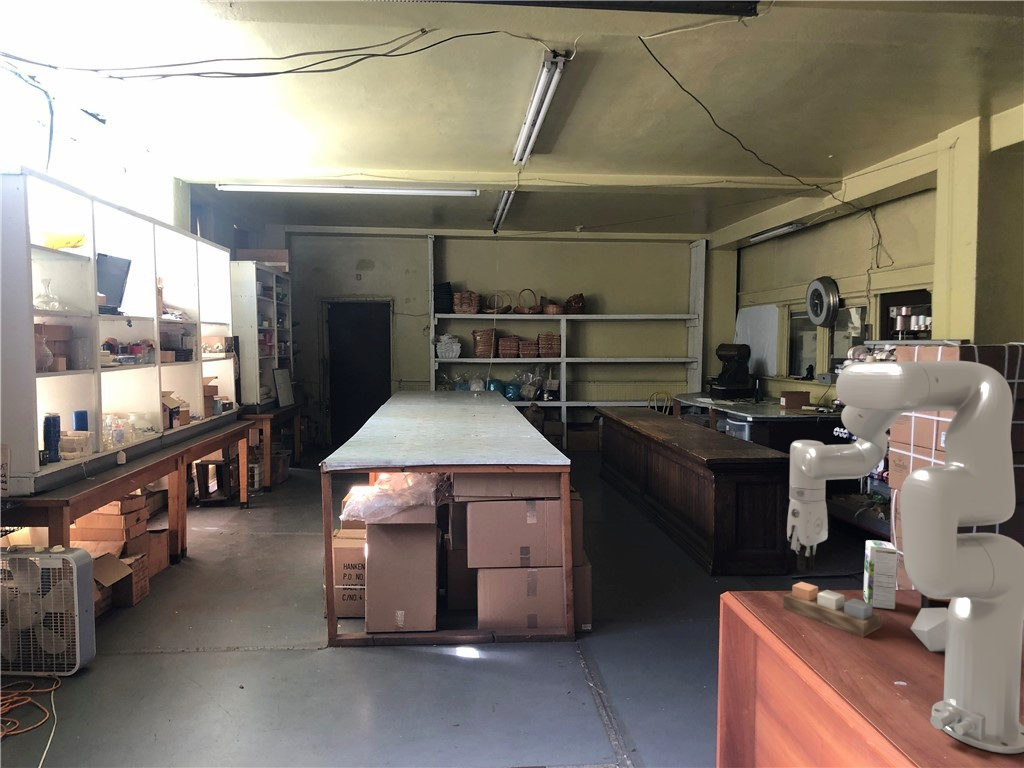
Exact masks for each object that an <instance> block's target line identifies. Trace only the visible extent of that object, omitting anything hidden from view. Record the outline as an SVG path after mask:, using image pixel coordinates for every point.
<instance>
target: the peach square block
mask: <svg viewBox="0 0 1024 768" xmlns="http://www.w3.org/2000/svg"><path fill="white" fill-rule="evenodd" d="M791 588H792V590H791V591H792V596H795V597H798V598H801V599H804V600H807V601H812V600H814V599H816V598H818V593H819V586H817V585H814V584H811V583H806V582H803V581H799V582H798V583H795V584H793V585H792V587H791Z"/></svg>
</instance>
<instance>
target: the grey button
mask: <svg viewBox="0 0 1024 768" xmlns="http://www.w3.org/2000/svg"><path fill="white" fill-rule="evenodd" d="M844 602H845V605H844V613H845V614H847V615H850V616H853V617H856V618H859V619H862V620H866V619H867V618H869V617H871V616H872V611H873V608H874V607H873V604H870V603H867V602H866V601H865V600H861V599H857V598H854V597H853V598H851V599H849V600H847V601H844Z"/></svg>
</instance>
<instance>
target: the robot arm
mask: <svg viewBox="0 0 1024 768" xmlns="http://www.w3.org/2000/svg"><path fill="white" fill-rule="evenodd" d="M835 391H836V395H837V398H839V400H840V402H842V403H843V404H844V405H846V406H844V408H843V409H842V411H841V415H840V417H841V418H840V419H841V422H842V424H843V426H844V427H845V429H846V430H847V431H848V432H849V433H851V434H852V435H853V436H855V437H857V438H858V439H857V440H856V441H855V442H853V443H851V444H827V445H826V444H824V443H823V442H822V441H818V440H811V439H799V440H798V439H797V440H794V441H792V443H791V444H790V448H789V493H788V494H789V495H788V498H789V505H788V514H787V523H786V525H787V527H786V533H787V534H786V536H787V541H789V542H790V543H791V545H790V549H791V550H794V551H795V553H796V556H797V557H796V559H797V560H796V562H797V563H796V569H797V571H801V572H804V573H806V574H812V573H814V572H815V555H816V550H817V545H818V544H819V543H822V542H824V541H826V540H827V539H828V536H829V535H828V533H829V530H828V529H829V525H828V524H829V523H828V521H829V520H828V509H827V503H826V481H827V480H828V481H830V480H831V481H832V480H849V479H850V480H851V479H852V480H854V479H855V480H856V479H860V478H863V477H866V476H868V475H869V474H871V473H872V472H873V470H875V468H876V467H878V465H879V464H880V463H881V462H883V460H884V458H885V457H886V455H887V450H888V435H887V434H886V432H887V431H888V430H889V429H890V428H891V427H892V425H893V424H894V423H895V422H896V421H897V420H898V419H899V418H900V417H901V415H902V414H903V413H913V412H915V413H916V412H923V413H924V412H944V411H946V412H947V411H948V412H950V411H951V412H955V413H956V414H955V415H954V416H953V418H952V419H951V420H950V422H949V424H948V427H947V428H946V431H945V434H944V441H943V444H944V455H945V457H944V459H945V460H944V464H943V465H929V466H928V465H927V466H922V467H919V468H917V469H915V470H912V471H911V472H910V473H908V475H907V476H906V478H905V479H904V480H903V482H902V486H901V488H900V495H899V507H900V510H899V511H900V512H899V513H900V522H901V523H900V524H901V525H900V526H901V527H900V529H901V542H902V544H901V545H902V554H903V555H902V556H903V563H904V568H905V572H906V574H907V577H908V580H909V581H910V583H911V584H912V586H913V588H915V590H916V591H917V592H919V593H922V594H923V595H925V596H928V597H930V598H934V599H951V602H950V604H949V608H948V612H947V620H946V645H945V651H944V681H943V700H939V701H937V702H935V703H934V704H933V705H932V708H931V717H930V718H929V720H930V721H929V722H930V724H931V725H932V726H933V728H935V729H937V730H943V732H945V733H946V734H947V735H949V736H951V737H953V738H954V739H957V740H958V741H960V742H962V743H964V744H967V745H969V746H972V747H975V748H977V749H981V750H985V751H988V752H993V753H999V754H1020V753H1023V752H1024V725H1023V723H1021V722H1020V700H1021V676H1022V674H1021V673H1022V672H1021V671H1022V651H1023V649H1022V648H1023V634H1024V632H1023V631H1024V629H1023V628H1024V546H1023V545H1022V544H1021V543H1020V542H1018V541H1016V540H1015V539H1013V538H1012V537H1009V536H1007V535H1006V536H1005V535H1003V534H1000V533H993V532H970V533H958V527H959V528H960V527H977V526H989V525H990V526H991V525H997V524H1002V523H1004V522H1006V521H1008V520H1010V519H1011V518H1012V517H1013V514H1014V513H1015V511H1016V510H1015V509H1016V484H1015V472H1014V459H1013V450H1012V440H1011V438H1012V437H1011V432H1012V421H1013V420H1012V418H1013V409H1014V408H1013V394H1012V390H1011V388H1010V385H1009V383H1008V381H1007V380H1006V379H1005V377H1004V376H1003V375H1002V374H1001V373H1000V372H999V371H997V370H996V369H994V368H993V367H992V366H989V365H986V364H982V363H979V362H974V361H965V360H930V361H929V360H928V361H923V360H922V361H915V360H914V361H859V362H858V361H857V362H853V363H850V364H848V365H847V366H845V367H844V368H843V369H842V370H841V371H840V373H839V375H838V377H837V378H836V382H835Z"/></svg>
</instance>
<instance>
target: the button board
mask: <svg viewBox="0 0 1024 768" xmlns="http://www.w3.org/2000/svg"><path fill="white" fill-rule="evenodd" d="M817 599H818V598H816V599H814V600H812V601H807V600H804V599H801V598H798V597H795V596H792V592H789V593H787V594H784V595H783V600H782V601H783V609H785V610H788V611H790V612H793V613H795V614H798V615H802V616H804V617H806V616H807V617H806V618H809V619H812V620H814V619H815V621H817V620H818V621H817V622H820V621H821V623H823V624H825V623H827V624H826V625H828V624H829V626H831V627H834V628H837V629H840V630H842V631H845V632H848V633H850V634H853V635H856V636H858V637H861V638H865V637H866V636H869V635H870V634H871V633H873V632H875V631H878V630H879V629H881V628H882V613H881V612H877V611H874V610H872V616H871V617H869V618H867V619H866V620H862V619H859V618H856V617H853V616H850V615H847V614H845V613H844V607H842V608H840V609H838V610H833V609H830V608H827V607H824V606H821V605H818V604H817ZM845 602H846V601H844V605H845Z"/></svg>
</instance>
